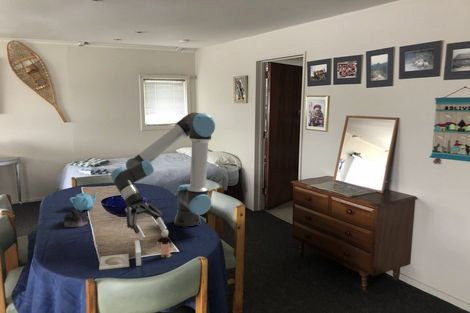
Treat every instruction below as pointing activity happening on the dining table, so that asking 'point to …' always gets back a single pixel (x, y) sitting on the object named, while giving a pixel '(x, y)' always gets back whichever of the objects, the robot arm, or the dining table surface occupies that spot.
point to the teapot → (83, 201)
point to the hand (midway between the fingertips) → (154, 234)
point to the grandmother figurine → (165, 244)
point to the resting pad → (114, 261)
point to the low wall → (137, 252)
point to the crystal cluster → (75, 219)
